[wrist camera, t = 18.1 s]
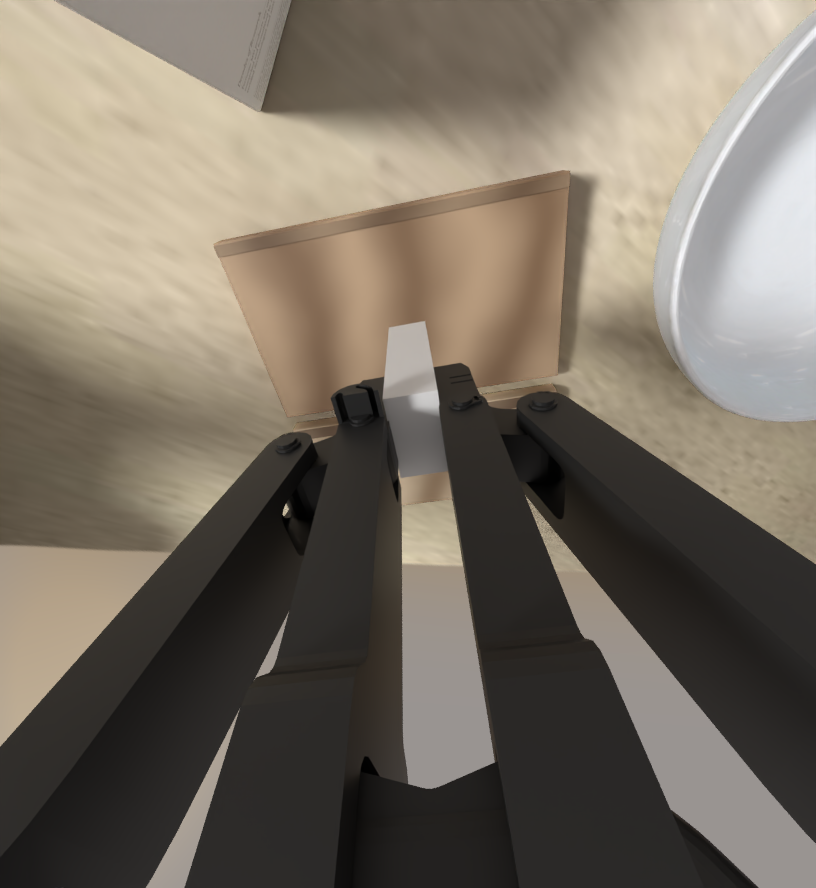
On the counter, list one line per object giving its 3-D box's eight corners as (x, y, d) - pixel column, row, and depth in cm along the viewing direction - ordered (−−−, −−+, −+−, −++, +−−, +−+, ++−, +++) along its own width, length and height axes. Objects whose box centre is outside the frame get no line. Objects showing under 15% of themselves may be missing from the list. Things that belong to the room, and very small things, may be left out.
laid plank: (328, 506, 36) (325, 516, 35) (296, 423, 31) (292, 431, 30) (548, 476, 34) (553, 486, 33) (551, 383, 29) (557, 391, 28)
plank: (291, 409, 30) (287, 418, 29) (221, 240, 23) (212, 244, 22) (552, 367, 28) (557, 375, 27) (562, 170, 21) (570, 171, 20)
